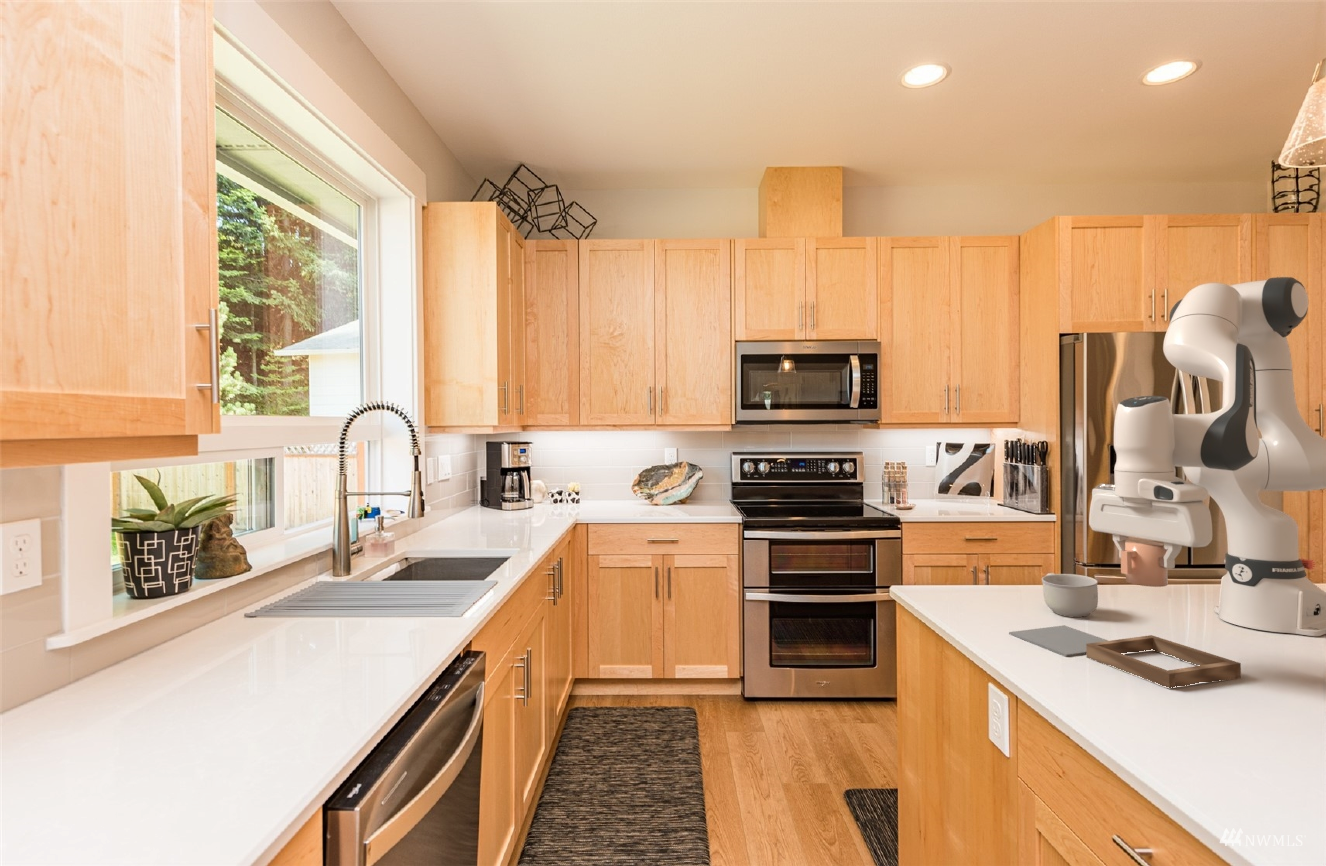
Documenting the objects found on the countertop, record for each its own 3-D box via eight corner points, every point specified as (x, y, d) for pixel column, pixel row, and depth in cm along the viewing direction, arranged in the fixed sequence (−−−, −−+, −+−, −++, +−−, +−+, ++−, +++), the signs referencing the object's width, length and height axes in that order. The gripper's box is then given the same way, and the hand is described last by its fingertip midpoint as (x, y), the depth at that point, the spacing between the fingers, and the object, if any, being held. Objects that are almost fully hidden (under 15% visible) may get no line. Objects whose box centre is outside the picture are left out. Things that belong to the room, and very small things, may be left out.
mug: (1143, 577, 120) (1142, 539, 120) (1176, 584, 114) (1175, 545, 114) (1109, 581, 118) (1108, 542, 118) (1140, 589, 112) (1140, 548, 112)
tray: (1151, 648, 124) (1151, 635, 124) (1240, 677, 109) (1240, 663, 109) (1086, 657, 120) (1086, 643, 120) (1169, 689, 105) (1169, 673, 105)
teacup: (1107, 621, 141) (1106, 584, 141) (1052, 619, 143) (1052, 583, 143) (1080, 603, 155) (1079, 570, 154) (1030, 602, 157) (1029, 569, 157)
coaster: (1064, 627, 138) (1064, 625, 138) (1125, 648, 124) (1125, 646, 124) (1009, 633, 134) (1009, 632, 134) (1066, 656, 121) (1066, 654, 121)
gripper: (1079, 483, 125) (1081, 554, 125) (1189, 493, 105) (1191, 577, 106) (1105, 481, 127) (1107, 551, 127) (1218, 490, 107) (1220, 574, 107)
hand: (1146, 563), depth 116 cm, fingers closed on mug, 6 cm apart
